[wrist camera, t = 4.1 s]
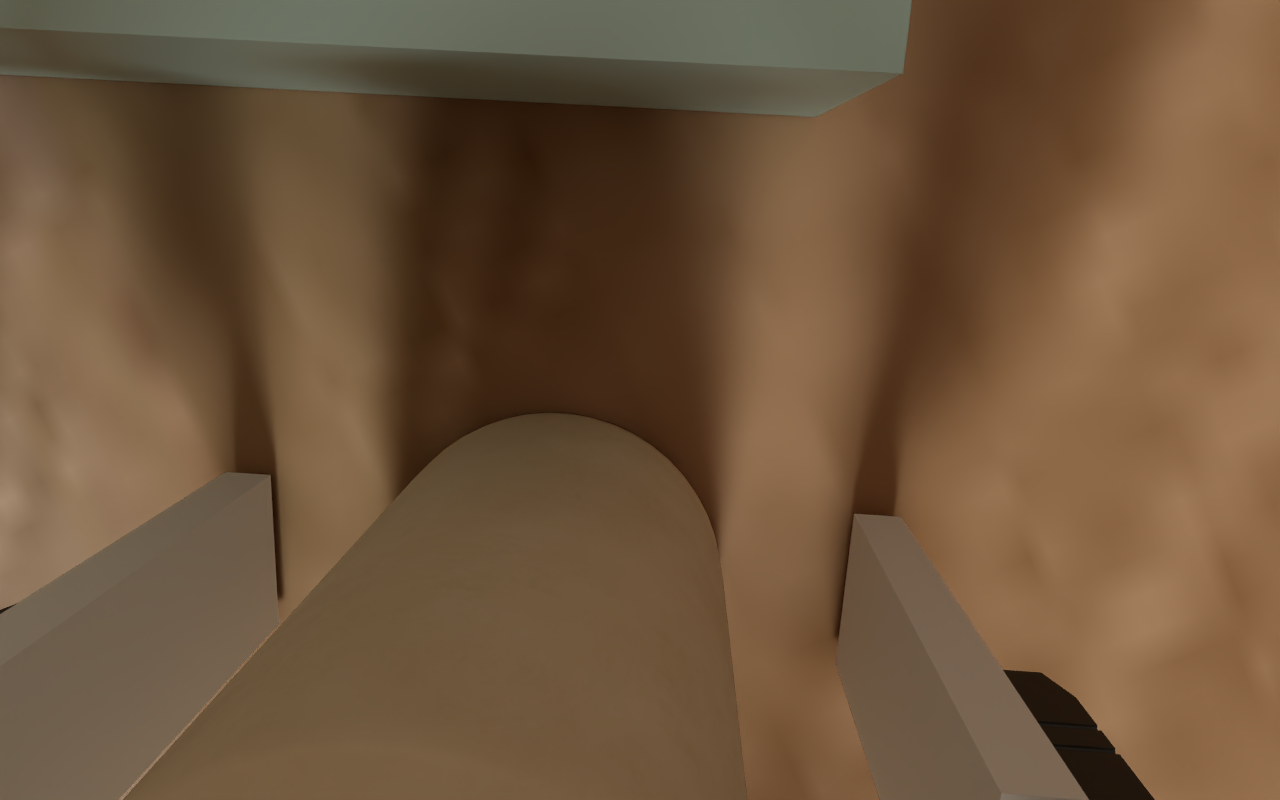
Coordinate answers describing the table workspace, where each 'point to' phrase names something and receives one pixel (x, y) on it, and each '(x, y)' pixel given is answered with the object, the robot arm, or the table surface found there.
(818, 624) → the table surface
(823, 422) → the table surface
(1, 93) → the table surface
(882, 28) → the tote
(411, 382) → the table surface
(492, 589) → the candle
